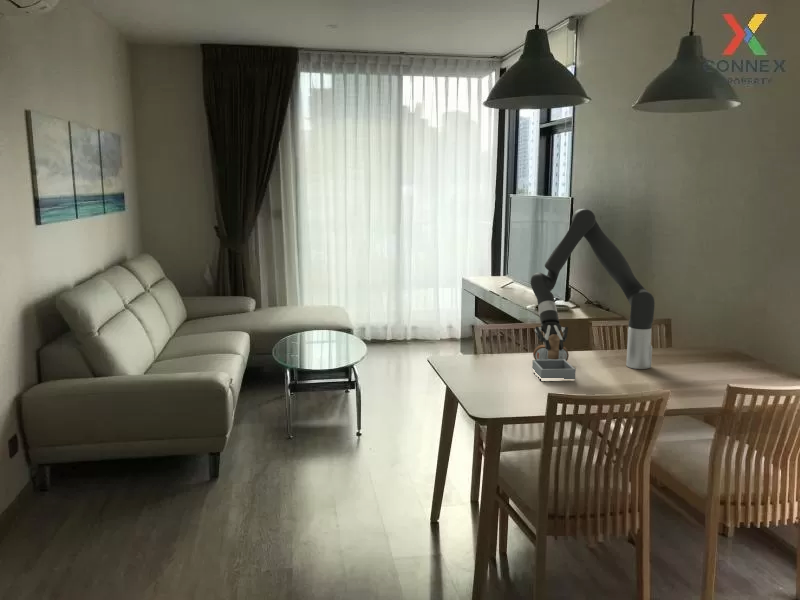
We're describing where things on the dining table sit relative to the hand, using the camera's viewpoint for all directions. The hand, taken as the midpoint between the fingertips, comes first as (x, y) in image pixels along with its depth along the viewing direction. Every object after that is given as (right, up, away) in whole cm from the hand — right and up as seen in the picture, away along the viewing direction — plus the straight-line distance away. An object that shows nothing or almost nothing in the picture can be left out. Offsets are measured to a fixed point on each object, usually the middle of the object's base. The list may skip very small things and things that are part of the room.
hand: (555, 349), depth 255 cm
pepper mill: (0, -4, +3) cm, 5 cm away
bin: (0, -11, +4) cm, 12 cm away
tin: (+4, -8, +22) cm, 24 cm away
